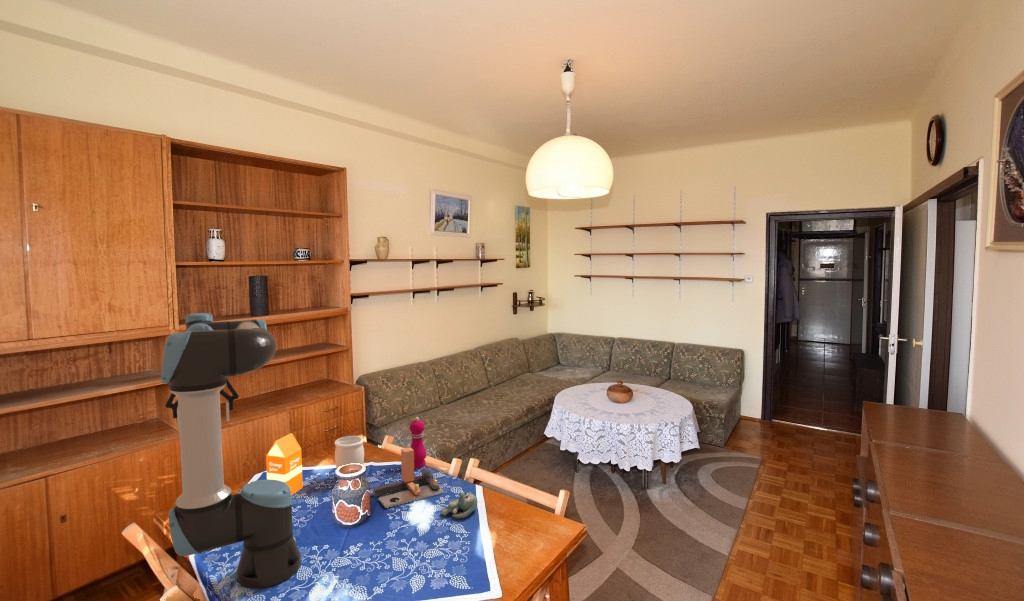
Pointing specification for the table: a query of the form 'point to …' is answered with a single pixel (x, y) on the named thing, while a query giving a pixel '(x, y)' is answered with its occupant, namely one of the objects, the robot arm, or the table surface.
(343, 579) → the table surface
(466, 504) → the stuffed animal
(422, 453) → the pepper mill
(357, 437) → the jar
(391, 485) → the rail
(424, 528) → the table surface
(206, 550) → the robot arm
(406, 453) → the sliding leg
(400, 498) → the bolt plate
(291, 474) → the orange juice
